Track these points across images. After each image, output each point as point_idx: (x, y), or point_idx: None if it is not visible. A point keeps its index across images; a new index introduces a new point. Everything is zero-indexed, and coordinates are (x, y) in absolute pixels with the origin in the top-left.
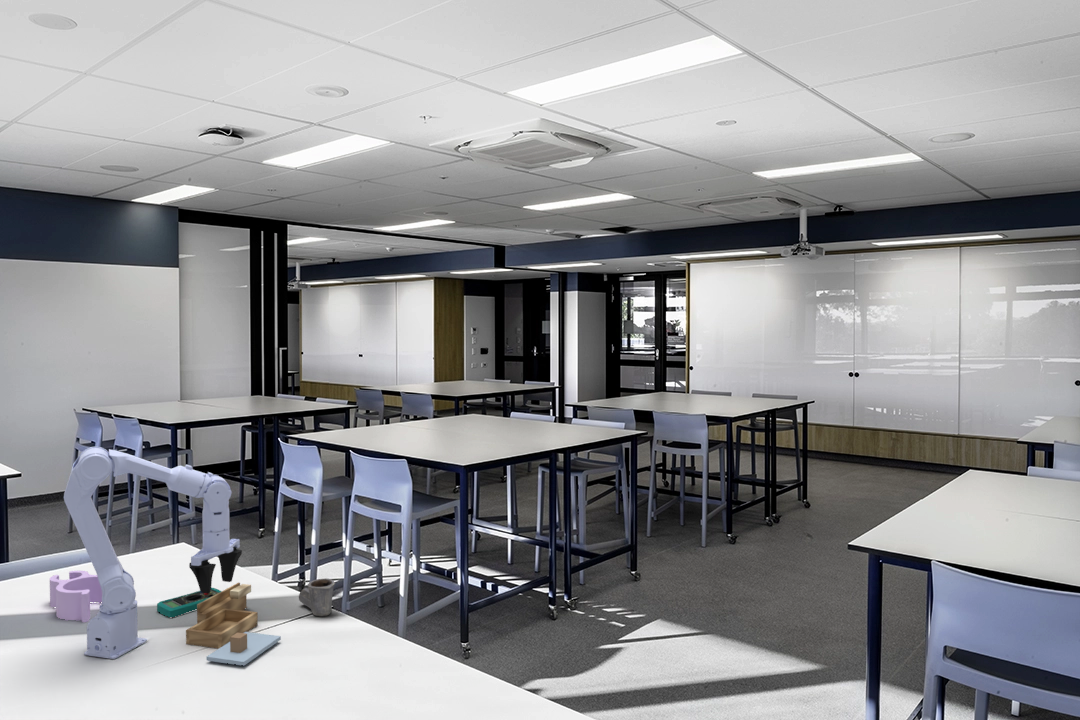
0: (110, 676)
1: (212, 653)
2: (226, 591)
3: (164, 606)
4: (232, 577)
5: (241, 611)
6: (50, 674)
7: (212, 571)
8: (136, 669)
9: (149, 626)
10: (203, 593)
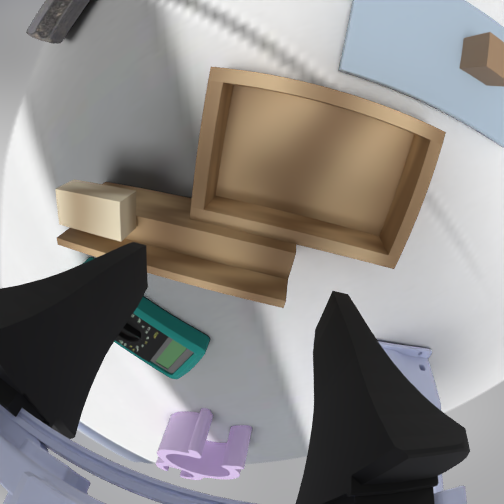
0: (493, 318)
1: (494, 136)
2: None
3: (189, 367)
4: (120, 248)
5: (210, 136)
6: (447, 390)
7: (383, 398)
8: (486, 292)
9: (261, 359)
10: None
